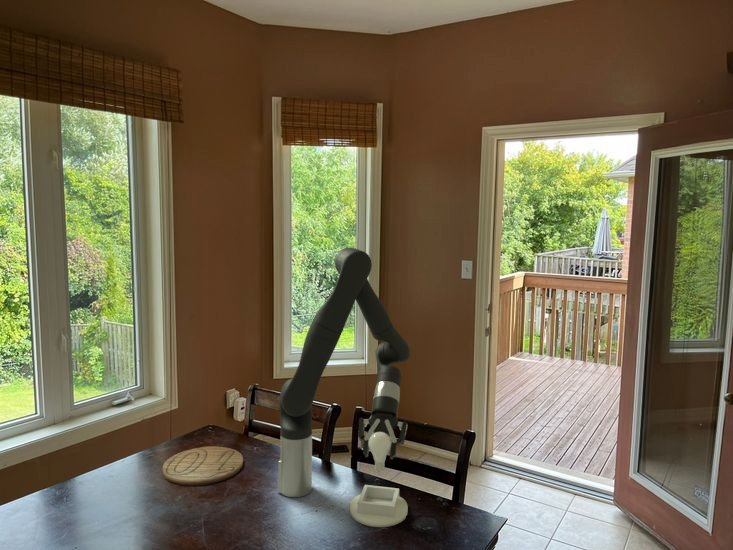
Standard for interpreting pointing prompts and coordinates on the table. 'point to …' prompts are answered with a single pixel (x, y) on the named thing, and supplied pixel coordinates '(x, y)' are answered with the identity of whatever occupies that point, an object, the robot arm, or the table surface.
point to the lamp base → (379, 506)
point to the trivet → (202, 465)
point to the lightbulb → (379, 448)
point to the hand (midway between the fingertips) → (378, 456)
